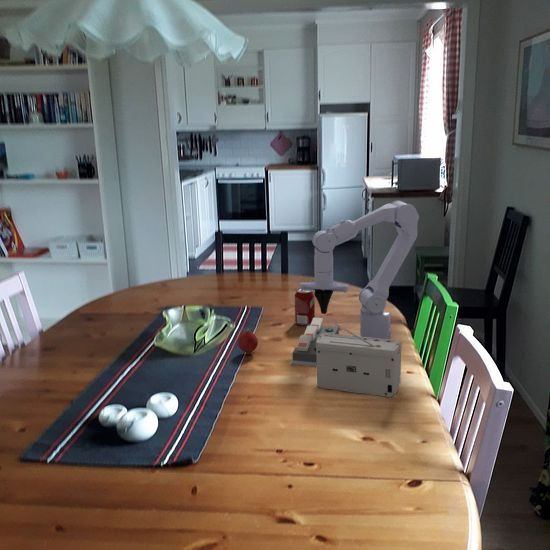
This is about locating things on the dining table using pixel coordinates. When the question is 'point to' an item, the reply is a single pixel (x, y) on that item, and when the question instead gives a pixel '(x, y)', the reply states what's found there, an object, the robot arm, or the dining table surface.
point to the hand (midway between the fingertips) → (324, 312)
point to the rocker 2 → (317, 323)
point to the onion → (248, 342)
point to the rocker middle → (311, 331)
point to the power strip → (311, 349)
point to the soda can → (304, 307)
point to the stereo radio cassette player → (358, 363)
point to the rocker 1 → (304, 343)
